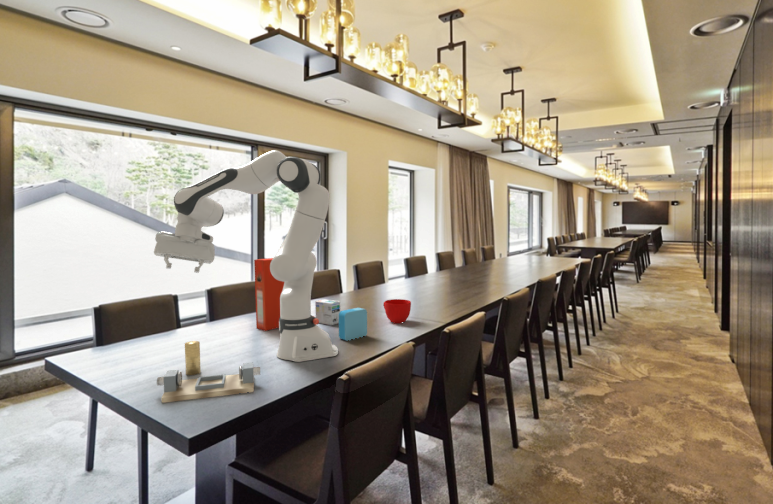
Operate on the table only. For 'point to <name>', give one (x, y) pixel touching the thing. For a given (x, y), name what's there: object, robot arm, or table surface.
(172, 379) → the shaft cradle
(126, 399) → the table surface
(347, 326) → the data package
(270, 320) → the file binder
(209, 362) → the table surface
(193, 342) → the cylinder
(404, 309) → the ceramic cup
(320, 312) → the light bulb box
